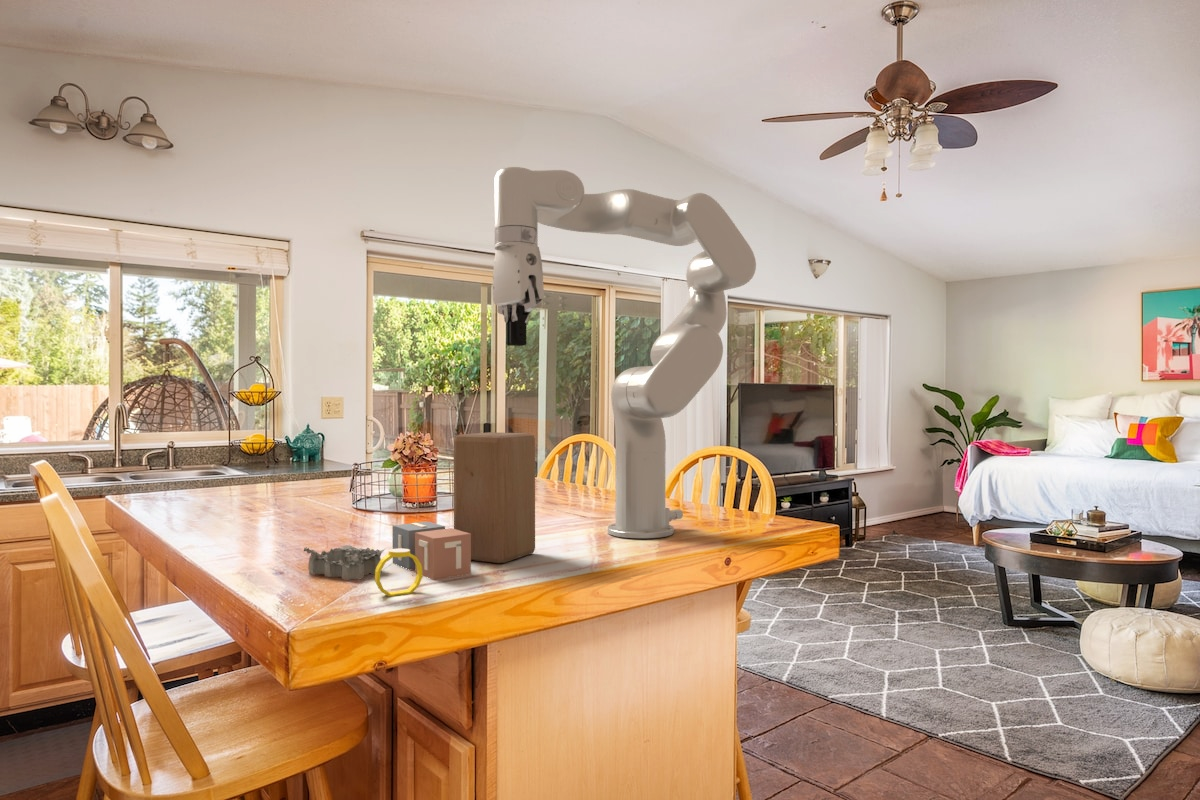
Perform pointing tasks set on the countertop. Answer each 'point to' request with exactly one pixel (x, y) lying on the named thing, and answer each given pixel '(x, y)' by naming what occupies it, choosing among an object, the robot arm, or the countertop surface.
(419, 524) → the slate cube one
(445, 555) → the terracotta cube seven
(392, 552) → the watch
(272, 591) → the countertop surface
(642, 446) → the robot arm
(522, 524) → the wooden block
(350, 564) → the egg carton
